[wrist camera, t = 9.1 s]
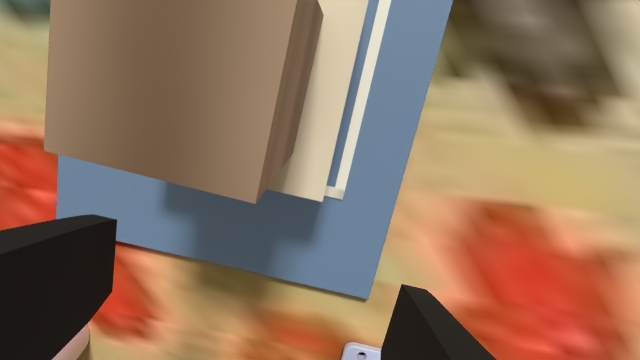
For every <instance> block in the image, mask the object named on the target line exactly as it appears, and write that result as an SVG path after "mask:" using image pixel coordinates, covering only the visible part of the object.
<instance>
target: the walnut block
mask: <svg viewBox="0 0 640 360" xmlns="http://www.w3.org/2000/svg"><path fill="white" fill-rule="evenodd" d="M323 16H324V14H323V12H322V9H321V7H320V4H319V2H318V0H51V7H50V29H49V50H48V71H47V93H46V114H45V135H44V151H47V152H51V153H55V154H59V155H63V156H67V157H71V158H75V159H79V160H83V161H87V162H91V163H95V164H99V165H103V166H107V167H111V168H115V169H119V170H123V171H127V172H131V173H135V174H139V175H143V176H147V177H150V178H154V179H158V180H162V181H166V182H170V183H174V184H178V185H182V186H186V187H190V188H194V189H198V190H202V191H206V192H210V193H214V194H218V195H222V196H226V197H230V198H234V199H238V200H242V201H246V202H250V203H254V204H256V202H257V201H258V200H259V198H260V197H261V196H262V194H263V193H264V192H265V190H266V189H267V188H268V186H269V185H270V184H271V182H272V181H273V180H274V178H275V177H276V176H277V174H278V173H279V172H280V170H281V169H282V167H283V166H284V165H285V163H286V162H287V161H288V159H289V158H290V157H291V155H292V154H293V150H294V145H295V141H296V136H297V132H298V127H299V123H300V118H301V114H302V109H303V105H304V101H305V96H306V92H307V87H308V83H309V78H310V74H311V69H312V65H313V60H314V56H315V51H316V47H317V42H318V38H319V34H320V29H321V25H322V20H323Z"/></svg>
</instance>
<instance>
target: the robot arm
mask: <svg viewBox="0 0 640 360" xmlns="http://www.w3.org/2000/svg"><path fill="white" fill-rule="evenodd" d="M116 230H117V219H112V218H108V217H103V216H99V215H95V214H90V215H80V216H73V217H67V218H61V219H56V220H51V221H46V222H41V223H36V224H31V225H26V226H21V227H16V228H11V229H6V230H1V231H0V360H52V359H53V358H54V357H55V356H56V355H57V354H58V353H59V352H60V351H61V350H62V349H63V348H64V347H65V346H66V345H67V344H68V343H69V342H70V341H71V340H72V339H73V338H74V337H75V336H76V335H77V334H78V333H79V332H80V331H81V330H82V329H83V328H84V327H85V326H86V324H87V323H88V322H89V321H90V319H91V318H92V317H93V316H94V314H95V313H96V312H97V311H98V309H99V308H100V307H101V305H102V304H103V303H104V301H105V300H106V299H107V297H108V296H109V295H110V293H111V292H112V286H113V272H114V258H115V244H116ZM360 352H363V353H365V355H359V354H358V353H360ZM341 360H496V359H495V358H494V357H493V356H492V355H491V354H490V353H489V352H488V351H487V350H486V349H485V348H484V347H483V346H482V345H481V344H480V343H479V342H478V341H477V340H476V339H475V338H474V337H473V336H472V335H471V334H470V333H469V332H468V331H467V330H466V329H465V328H464V327H463V326H462V325H461V324H460V323H459V322H458V321H457V320H456V319H455V318H454V317H453V316H452V314H451V313H450V312H449V311H448V310H447V309H446V308H445V307H444V306H443V305H442V304H441V303H440V302H439V301H438V300H437V299H436V298H435V297H434V296H433V295H432V294H431V293H429V292H428V291H427V290H425V289H421V288H417V287H412V286H408V285H403V284H402V285H401V288H400V291H399V294H398V298H397V301H396V304H395V307H394V311H393V314H392V317H391V320H390V323H389V327H388V330H387V333H386V336H385V339H384V343H383V346H382V349H381V348H376V347H372V346H368V345H364V344H359V343H355V342H350V343H348V344H346V345H345V347H344V349H343V353H342V357H341Z"/></svg>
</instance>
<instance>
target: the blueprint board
mask: <svg viewBox="0 0 640 360" xmlns="http://www.w3.org/2000/svg"><path fill="white" fill-rule="evenodd" d="M452 2H453V0H369V1H368V6H367V10H366V14H365V19H364V23H363V27H362V32H361V36H360V41H359V45H358V49H357V54H356V58H355V62H354V67H353V71H352V75H351V80H350V84H349V88H348V93H347V97H346V102H345V106H344V110H343V115H342V119H341V123H340V128H339V132H338V136H337V141H336V145H335V150H334V154H333V158H332V163H331V167H330V171H329V176H328V180H327V184H326V189H325V193H324V198H323V202H320V201H316V200H312V199H307V198H303V197H299V196H294V195H290V194H286V193H281V192H277V191H272V190H268V189H266V190H265V192H264V193H263V194H262V196H261V197H260V198H259V200H258V201H257V202H256V204H254V203H250V202H246V201H242V200H238V199H234V198H230V197H226V196H222V195H218V194H214V193H210V192H206V191H202V190H198V189H194V188H190V187H186V186H182V185H178V184H174V183H170V182H166V181H162V180H158V179H154V178H150V177H147V176H143V175H139V174H135V173H131V172H127V171H123V170H119V169H115V168H111V167H107V166H103V165H99V164H95V163H91V162H87V161H83V160H79V159H75V158H71V157H67V156H63V155H59V154H58V182H57V211H56V219H61V218H67V217H73V216H80V215H90V214H95V215H99V216H103V217H108V218H112V219H117V230H116V241H120V242H124V243H129V244H133V245H137V246H141V247H146V248H150V249H154V250H159V251H163V252H167V253H172V254H176V255H180V256H184V257H189V258H193V259H197V260H202V261H206V262H210V263H214V264H219V265H223V266H227V267H232V268H236V269H240V270H245V271H249V272H253V273H257V274H262V275H266V276H270V277H275V278H279V279H283V280H287V281H292V282H296V283H300V284H305V285H309V286H313V287H318V288H322V289H326V290H330V291H335V292H339V293H343V294H348V295H352V296H356V297H360V298H365V299H369V295H370V291H371V288H372V284H373V281H374V277H375V274H376V270H377V267H378V263H379V260H380V256H381V253H382V249H383V246H384V242H385V239H386V235H387V231H388V228H389V224H390V221H391V217H392V214H393V210H394V207H395V203H396V200H397V196H398V193H399V189H400V186H401V182H402V179H403V175H404V171H405V168H406V164H407V161H408V157H409V154H410V150H411V147H412V143H413V140H414V136H415V133H416V129H417V126H418V122H419V119H420V115H421V111H422V108H423V104H424V101H425V97H426V94H427V90H428V87H429V83H430V80H431V76H432V73H433V69H434V66H435V62H436V59H437V55H438V51H439V48H440V44H441V41H442V37H443V34H444V30H445V27H446V23H447V20H448V16H449V13H450V9H451V6H452Z"/></svg>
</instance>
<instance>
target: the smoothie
mask: <svg viewBox="0 0 640 360" xmlns="http://www.w3.org/2000/svg"><path fill="white" fill-rule="evenodd" d="M88 341H89V329H88V326H87V324H86V326H85V327H84V328H83V329H82V330H81V331H80V332H79V333H78V334H77V335H76V336H75V337H74V338H73V339H72V340H71V341H70V342H69V343H68V344H67V345H66V346H65V347H64V348H63V349H62V350H61V351H60V352H59V353H58V354H57V355H56V356H55V357H54V358H53V359H52V360H77V358H78V357H79V356H80V354H81V353H82V352H83V350H84V349H85V348H86V346H87V344H88Z"/></svg>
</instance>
